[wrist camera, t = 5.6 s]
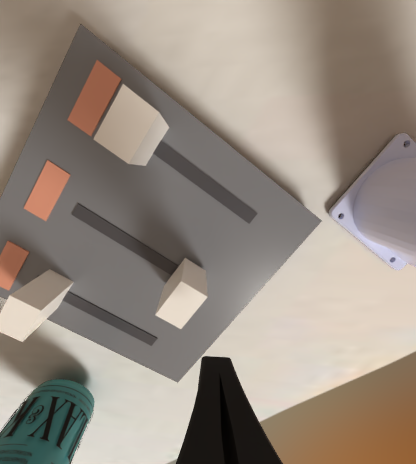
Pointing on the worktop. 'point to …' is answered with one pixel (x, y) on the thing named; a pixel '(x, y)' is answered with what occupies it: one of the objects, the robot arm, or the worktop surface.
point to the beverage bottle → (47, 424)
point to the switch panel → (134, 216)
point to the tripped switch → (183, 294)
